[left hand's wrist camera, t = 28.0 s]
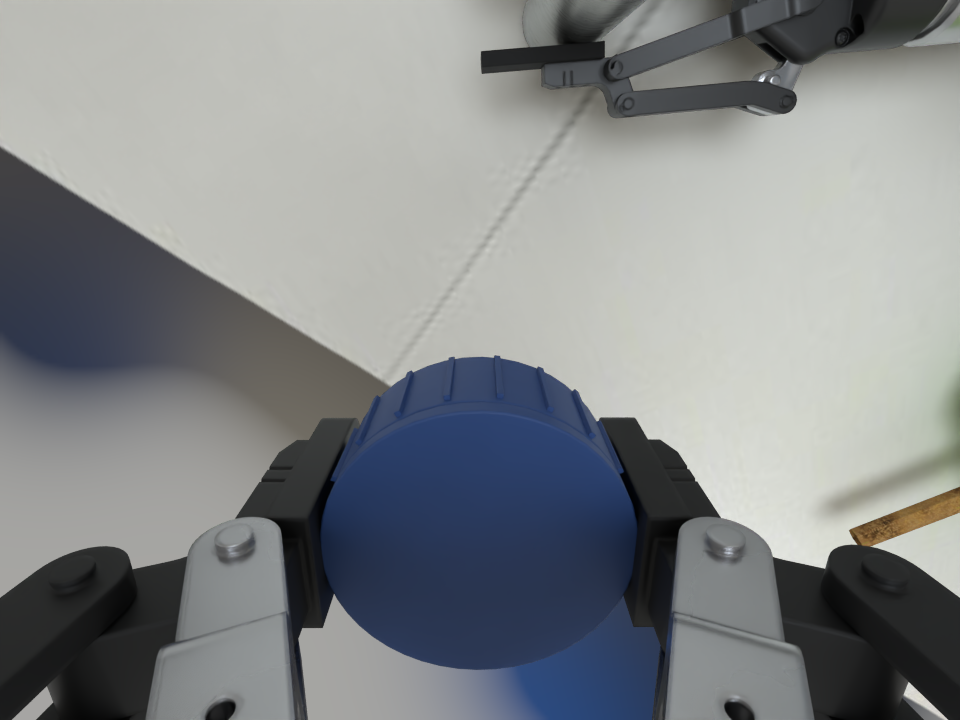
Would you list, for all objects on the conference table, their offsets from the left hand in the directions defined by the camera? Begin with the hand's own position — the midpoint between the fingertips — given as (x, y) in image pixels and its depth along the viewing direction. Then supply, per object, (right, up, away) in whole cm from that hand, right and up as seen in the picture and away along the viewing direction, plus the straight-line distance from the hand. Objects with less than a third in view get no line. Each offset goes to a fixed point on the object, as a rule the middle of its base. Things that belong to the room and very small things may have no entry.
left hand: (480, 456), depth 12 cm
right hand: (0, +21, +17) cm, 27 cm away
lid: (0, -1, -3) cm, 3 cm away
